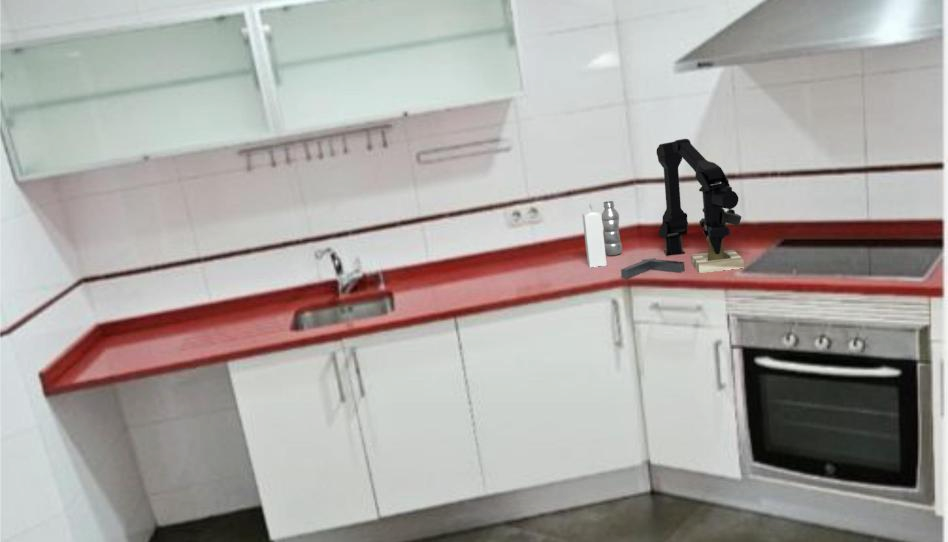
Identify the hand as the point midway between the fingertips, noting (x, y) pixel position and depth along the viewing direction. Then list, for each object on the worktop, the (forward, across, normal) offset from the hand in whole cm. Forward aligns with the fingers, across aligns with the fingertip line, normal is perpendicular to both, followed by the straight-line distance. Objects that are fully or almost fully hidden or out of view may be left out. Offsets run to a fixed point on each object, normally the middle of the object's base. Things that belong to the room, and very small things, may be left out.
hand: (716, 252), depth 265 cm
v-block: (+4, +2, +21) cm, 22 cm away
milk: (+5, +20, +38) cm, 43 cm away
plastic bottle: (+5, +33, +31) cm, 46 cm away
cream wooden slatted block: (+4, 0, 0) cm, 4 cm away
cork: (+5, 0, 0) cm, 5 cm away
